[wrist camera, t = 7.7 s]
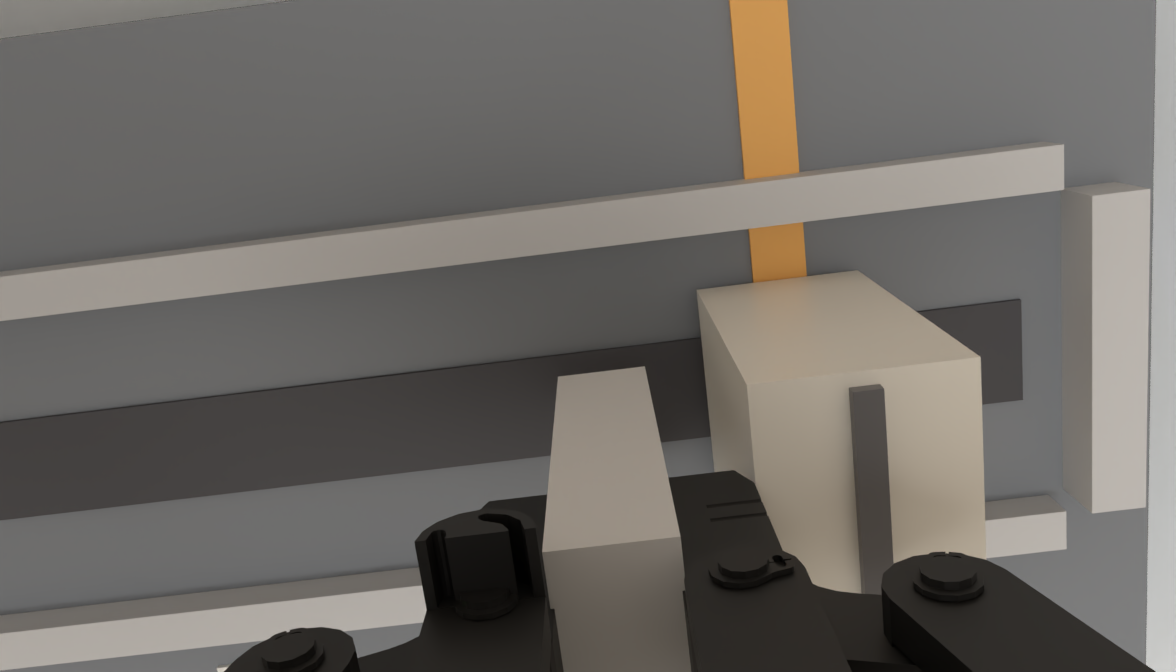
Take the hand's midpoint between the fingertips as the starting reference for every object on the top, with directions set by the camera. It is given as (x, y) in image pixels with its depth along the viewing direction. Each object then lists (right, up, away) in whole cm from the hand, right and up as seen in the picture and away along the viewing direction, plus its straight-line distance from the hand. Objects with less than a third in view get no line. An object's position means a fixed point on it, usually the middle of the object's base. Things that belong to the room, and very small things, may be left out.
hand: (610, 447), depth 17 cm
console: (-4, +1, +4) cm, 6 cm away
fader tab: (+3, +1, +2) cm, 4 cm away
